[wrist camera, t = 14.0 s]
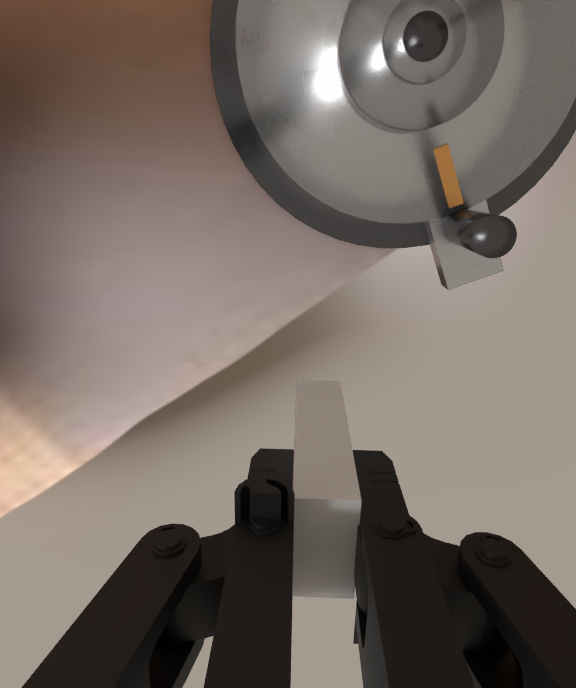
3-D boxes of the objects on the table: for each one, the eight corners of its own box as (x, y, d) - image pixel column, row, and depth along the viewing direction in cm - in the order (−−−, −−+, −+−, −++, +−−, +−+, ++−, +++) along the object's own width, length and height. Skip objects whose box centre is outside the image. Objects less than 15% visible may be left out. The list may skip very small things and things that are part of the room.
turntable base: (284, 292, 39) (284, 293, 38) (149, -92, 31) (146, -96, 31) (627, 178, 35) (632, 178, 35) (570, -285, 28) (575, -293, 27)
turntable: (469, 300, 38) (512, 332, 30) (179, 131, 34) (143, 118, 27) (685, -8, 31) (813, -69, 23) (350, -254, 28) (369, -422, 20)
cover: (424, 161, 33) (442, 159, 28) (309, 83, 31) (310, 69, 27) (512, 27, 30) (546, 2, 26) (390, -64, 29) (406, -106, 25)
